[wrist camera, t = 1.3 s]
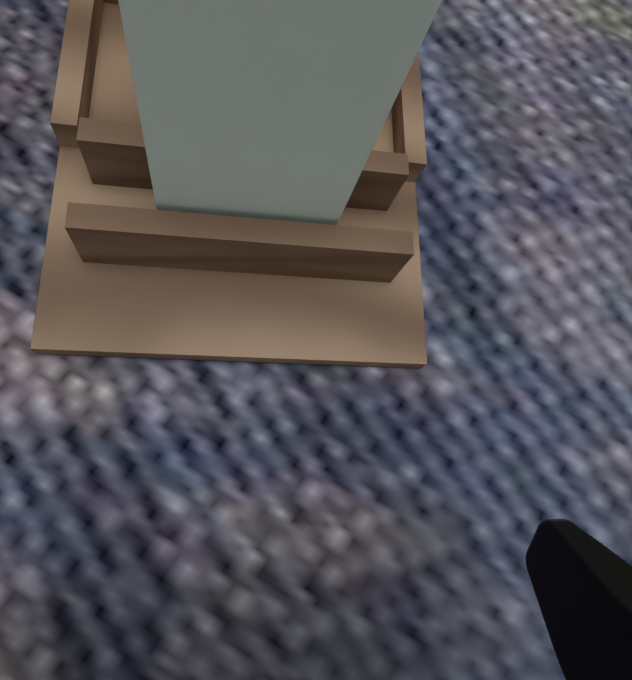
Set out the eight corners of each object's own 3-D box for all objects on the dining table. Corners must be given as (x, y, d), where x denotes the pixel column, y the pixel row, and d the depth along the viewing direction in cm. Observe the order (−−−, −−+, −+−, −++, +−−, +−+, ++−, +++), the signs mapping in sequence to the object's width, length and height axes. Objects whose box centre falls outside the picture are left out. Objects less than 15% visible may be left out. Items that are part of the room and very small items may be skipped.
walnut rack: (420, 368, 24) (457, 346, 21) (36, 353, 21) (1, 325, 18) (399, 44, 29) (426, -19, 26) (87, -3, 26) (68, -82, 23)
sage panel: (324, 251, 24) (444, -5, 12) (161, 238, 23) (106, -62, 11) (323, 211, 25) (438, -73, 12) (165, 196, 23) (116, -136, 11)
